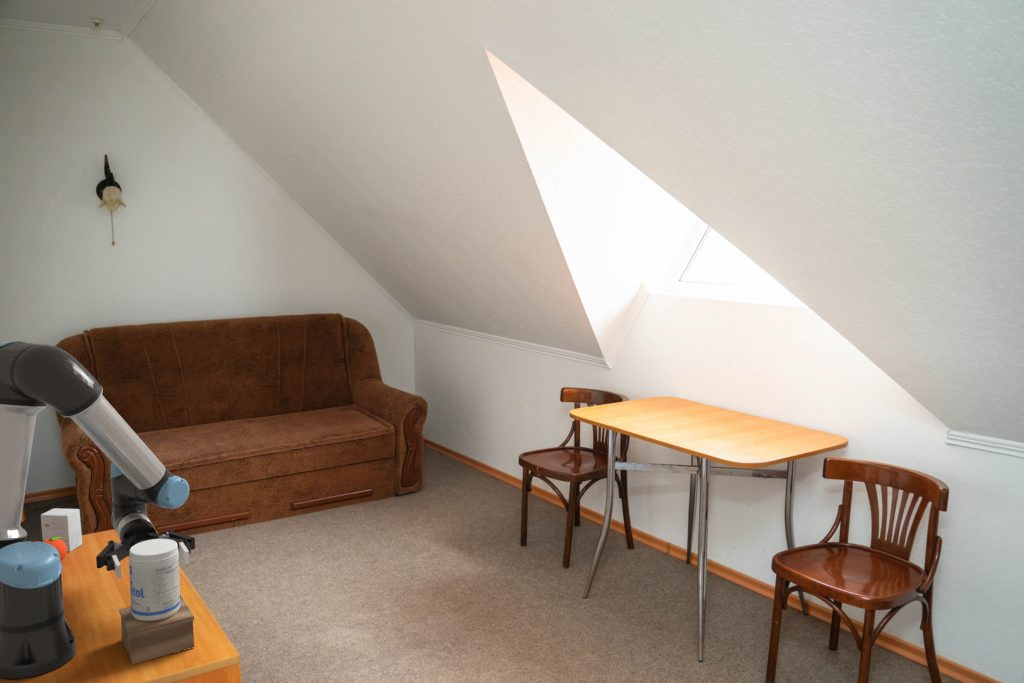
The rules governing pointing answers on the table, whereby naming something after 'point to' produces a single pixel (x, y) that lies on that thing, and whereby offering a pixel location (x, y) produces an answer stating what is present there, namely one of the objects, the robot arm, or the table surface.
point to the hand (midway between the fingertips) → (153, 564)
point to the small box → (62, 526)
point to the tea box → (157, 634)
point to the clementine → (58, 546)
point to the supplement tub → (154, 579)
